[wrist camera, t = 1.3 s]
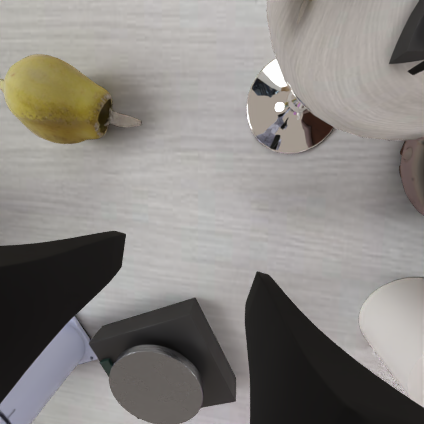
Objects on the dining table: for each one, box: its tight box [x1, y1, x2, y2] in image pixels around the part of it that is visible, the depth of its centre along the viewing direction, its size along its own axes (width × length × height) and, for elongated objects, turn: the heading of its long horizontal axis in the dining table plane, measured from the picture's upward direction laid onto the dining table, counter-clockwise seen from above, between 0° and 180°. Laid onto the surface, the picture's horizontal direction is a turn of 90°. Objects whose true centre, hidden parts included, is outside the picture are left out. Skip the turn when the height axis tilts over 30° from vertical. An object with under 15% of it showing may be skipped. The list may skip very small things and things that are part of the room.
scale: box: [89, 298, 236, 419], centre depth 23 cm, size 13×12×3 cm
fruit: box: [0, 54, 142, 144], centre depth 16 cm, size 6×6×10 cm
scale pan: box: [109, 344, 204, 424], centre depth 21 cm, size 10×10×1 cm
